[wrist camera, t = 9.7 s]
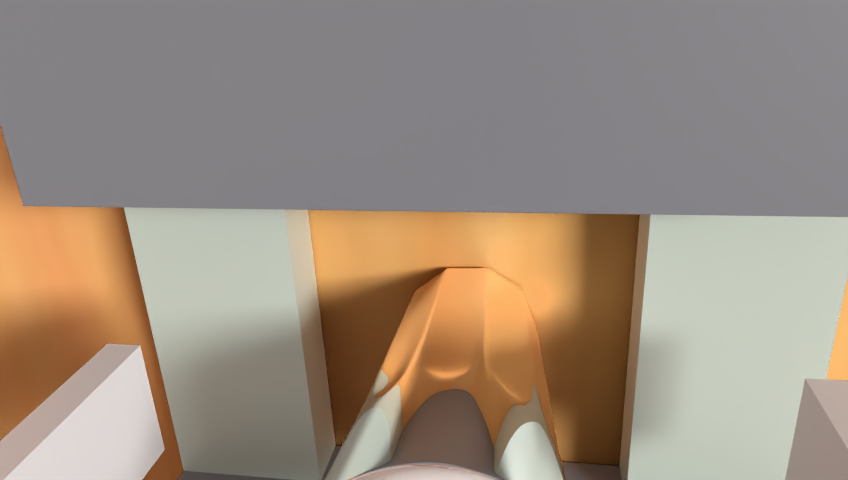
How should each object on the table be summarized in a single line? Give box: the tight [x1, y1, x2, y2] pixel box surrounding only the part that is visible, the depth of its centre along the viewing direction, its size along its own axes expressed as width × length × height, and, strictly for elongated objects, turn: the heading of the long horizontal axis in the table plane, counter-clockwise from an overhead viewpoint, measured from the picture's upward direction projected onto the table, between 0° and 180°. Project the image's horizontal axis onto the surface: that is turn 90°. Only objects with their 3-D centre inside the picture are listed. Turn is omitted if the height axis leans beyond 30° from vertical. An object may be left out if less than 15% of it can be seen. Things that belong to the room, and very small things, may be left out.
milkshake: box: [325, 268, 566, 480], centre depth 13 cm, size 4×5×10 cm
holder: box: [0, 0, 848, 480], centre depth 16 cm, size 19×16×4 cm
